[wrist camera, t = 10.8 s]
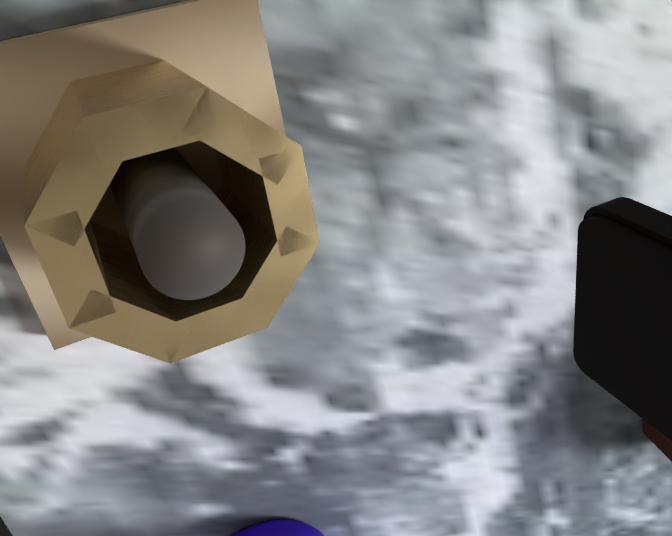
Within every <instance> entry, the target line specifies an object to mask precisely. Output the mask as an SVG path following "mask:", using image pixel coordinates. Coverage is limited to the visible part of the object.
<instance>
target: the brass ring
mask: <svg viewBox="0 0 672 536" xmlns="http://www.w3.org/2000/svg"><path fill="white" fill-rule="evenodd" d="M199 140H200V141H202V142H204V143H206V144H207V145H209V146H211V147H213V148H214V150H215V154H216V158H217V162H218V166H219V170H220V173H221V177H222V181H223V183H222V185H221V186H220V188H219V190H218V192H217V193H216V196H217V198H218V199H219V200H220V201H221V202H222V204H223V205H224V206H225V207H226V208H227V209H228V211H229V212H230V213H231V214H232V215H233V217H234V218H235V219H236V220H237V222H238V223H239V225H240V227H241V229H242V231H243V234H244V239H245V255H244V260H243V263H242V266H241V268H240V270H239V272H238V273H237V275H236V276H235V278H234V279H233V280H232V281H231V282H230V283H229V284H228V285H227V286H226V287H224V288H223V289H222V290H220V291H219V292H217V293H215V294H213V295H211V296H208V297H205V298H201V299H196V300H181V299H175V298H172V297H169V296H167V295H165V294H163V293H161V292H159V291H158V290H157V289H155V288H154V287H153V286H152V285H151V284H150V283H149V282H148V280H147V279H146V277H145V275H144V273H143V271H142V269H141V266H140V263H139V261H138V258H137V255H136V253H135V250H134V247H133V245H132V242H131V239H130V238H129V237H126V236H124V235H122V234H120V233H117V232H115V231H113V230H111V229H108V228H106V227H104V226H102V225H99V224H97V223H95V222H93V221H92V220H91V216H92V215H93V213H94V211H95V209H96V207H97V206H98V204H99V202H100V200H101V198H102V197H103V195H104V193H105V191H106V190H107V188H108V186H109V184H110V182H111V181H112V179H113V177H114V175H115V174H116V172H117V170H118V168H119V166H120V165H121V163H122V161H125V160H129V159H133V158H136V157H140V156H144V155H147V154H151V153H155V152H159V151H162V150H166V149H170V148H173V147H177V146H181V145H184V144H188V143H192V142H195V141H199ZM24 226H25V229H26V231H27V233H28V236H29V238H30V240H31V243H32V245H33V247H34V250H35V252H36V254H37V256H38V259H39V261H40V263H41V266H42V268H43V270H44V273H45V275H46V277H47V279H48V282H49V284H50V286H51V289H52V291H53V293H54V296H55V298H56V300H57V302H58V305H59V307H60V309H61V312H62V314H63V316H64V319H65V321H66V323H67V325H68V328H69V329H72V330H75V331H78V332H81V333H83V334H86V335H89V336H92V337H95V338H98V339H101V340H104V341H107V342H110V343H113V344H115V345H118V346H121V347H124V348H127V349H130V350H133V351H136V352H139V353H142V354H145V355H148V356H150V357H153V358H156V359H159V360H162V361H165V362H168V363H173V362H176V361H178V360H181V359H184V358H186V357H189V356H192V355H194V354H197V353H200V352H202V351H205V350H208V349H211V348H213V347H216V346H219V345H221V344H224V343H227V342H229V341H232V340H235V339H237V338H240V337H243V336H246V335H248V334H251V333H254V332H256V331H259V330H262V329H264V328H267V327H268V326H269V324H270V323H271V321H272V320H273V318H274V316H275V315H276V313H277V312H278V310H279V308H280V307H281V305H282V304H283V302H284V300H285V299H286V297H287V295H288V294H289V292H290V291H291V289H292V287H293V286H294V284H295V283H296V281H297V279H298V278H299V276H300V275H301V273H302V271H303V270H304V268H305V267H306V265H307V263H308V262H309V260H310V258H311V257H312V255H313V254H314V252H315V250H316V249H317V247H318V246H319V244H320V241H319V236H318V231H317V226H316V220H315V215H314V210H313V205H312V199H311V194H310V189H309V184H308V178H307V173H306V168H305V163H304V157H303V152H302V147H301V146H300V145H299V144H297V143H296V142H294V141H293V140H291V139H289V138H288V137H286V136H285V135H283V134H281V133H280V132H278V131H277V130H275V129H274V128H272V127H270V126H269V125H267V124H266V123H264V122H262V121H261V120H259V119H258V118H256V117H255V116H253V115H251V114H250V113H248V112H247V111H245V110H243V109H242V108H240V107H239V106H237V105H236V104H234V103H232V102H231V101H229V100H228V99H226V98H224V97H223V96H221V95H220V94H218V93H216V92H215V91H213V90H212V89H210V88H209V87H207V86H205V85H204V84H202V83H201V82H199V81H197V80H196V79H194V78H192V77H191V76H189V75H188V74H186V73H184V72H183V71H181V70H179V69H178V68H176V67H175V66H173V65H171V64H170V63H168V62H166V61H165V60H160V61H156V62H152V63H147V64H143V65H139V66H134V67H130V68H125V69H121V70H117V71H112V72H108V73H104V74H99V75H95V76H91V77H86V78H82V79H77V80H73V81H70V83H69V85H68V86H67V88H66V90H65V92H64V94H63V96H62V98H61V99H60V101H59V103H58V105H57V107H56V109H55V111H54V112H53V114H52V116H51V118H50V120H49V122H48V124H47V125H46V127H45V129H44V131H43V133H42V135H41V137H40V138H39V140H38V142H37V144H36V146H35V148H34V150H33V151H32V153H31V155H30V157H29V159H28V161H27V163H26V187H25V216H24Z"/></svg>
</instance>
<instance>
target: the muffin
mask: <svg viewBox="0 0 672 536" xmlns="http://www.w3.org/2000/svg"><path fill="white" fill-rule="evenodd" d="M642 421H643V433H644V434H645V435H646V436H647V437H648V438H649V439H650V440H651V441H652V442H653V443H654V444H655V445H656V446H657V447H658V448H659V449H660V450H661V451H662V452H663V453H664V454H665V455H666V456H667V457H668V458H669V459H670V460H671V461H672V441H671V440H670V439H669V438H667V437H666V436H665V435H663V434H662V433H661V432H660V431H658V430H657V429H656V428H654V427H653V426H652V425H650V424H649V423H648V422H647V421H645V420H644V419H643V418H642Z"/></svg>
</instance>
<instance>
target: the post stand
mask: <svg viewBox="0 0 672 536" xmlns="http://www.w3.org/2000/svg"><path fill="white" fill-rule="evenodd" d="M160 60H165V61H166V62H168V63H170V64H171V65H173V66H175V67H176V68H178V69H179V70H181V71H183V72H184V73H186V74H188V75H189V76H191V77H192V78H194V79H196V80H197V81H199V82H201V83H202V84H204V85H205V86H207V87H209V88H210V89H212V90H213V91H215V92H216V93H218V94H220V95H221V96H223V97H224V98H226V99H228V100H229V101H231V102H232V103H234V104H236V105H237V106H239V107H240V108H242V109H243V110H245V111H247V112H248V113H250V114H251V115H253V116H255V117H256V118H258V119H259V120H261V121H262V122H264V123H266V124H267V125H269V126H270V127H272V128H274V129H275V130H277V131H278V132H280V133H281V134H283V135H285V136H286V133H285V129H284V124H283V119H282V114H281V110H280V105H279V100H278V96H277V91H276V86H275V81H274V77H273V72H272V67H271V63H270V58H269V53H268V48H267V44H266V39H265V34H264V30H263V25H262V20H261V15H260V11H259V6H258V1H257V0H188V1H184V2H179V3H175V4H170V5H165V6H161V7H156V8H152V9H147V10H142V11H138V12H133V13H128V14H124V15H119V16H115V17H110V18H105V19H101V20H96V21H92V22H87V23H82V24H78V25H73V26H69V27H64V28H59V29H55V30H50V31H46V32H41V33H36V34H32V35H27V36H22V37H18V38H13V39H9V40H4V41H0V236H1V239H2V241H3V243H4V245H5V247H6V249H7V251H8V253H9V255H10V258H11V260H12V262H13V264H14V266H15V268H16V270H17V272H18V274H19V277H20V279H21V281H22V283H23V285H24V287H25V289H26V291H27V293H28V296H29V298H30V300H31V302H32V304H33V306H34V308H35V310H36V312H37V315H38V317H39V319H40V321H41V323H42V325H43V327H44V329H45V331H46V334H47V336H48V338H49V340H50V342H51V344H52V346H53V348H54V350H56V349H58V348H61V347H64V346H67V345H70V344H72V343H75V342H78V341H81V340H84V339H86V338H89V337H92V336H89V335H86V334H83V333H81V332H78V331H75V330H72V329H69V328H68V325H67V323H66V321H65V319H64V316H63V314H62V312H61V309H60V307H59V305H58V302H57V300H56V298H55V296H54V293H53V291H52V289H51V286H50V284H49V282H48V279H47V277H46V275H45V273H44V270H43V268H42V266H41V263H40V261H39V259H38V256H37V254H36V252H35V250H34V247H33V245H32V243H31V240H30V238H29V236H28V233H27V231H26V229H25V226H24V216H25V187H26V163H27V161H28V159H29V157H30V155H31V153H32V151H33V150H34V148H35V146H36V144H37V142H38V140H39V138H40V137H41V135H42V133H43V131H44V129H45V127H46V125H47V124H48V122H49V120H50V118H51V116H52V114H53V112H54V111H55V109H56V107H57V105H58V103H59V101H60V99H61V98H62V96H63V94H64V92H65V90H66V88H67V86H68V85H69V83H70V81H73V80H77V79H82V78H86V77H91V76H95V75H99V74H104V73H108V72H112V71H117V70H121V69H125V68H130V67H134V66H139V65H143V64H147V63H152V62H156V61H160ZM222 183H223V181H222V177H221V173H220V170H219V166H218V162H217V158H216V154H215V150H214V148H213V147H211V146H209V145H207V144H206V143H204V142H202V141H200V140H199V141H195V142H192V143H188V144H184V145H181V146H177V147H173V148H170V149H166V150H162V151H159V152H155V153H151V154H147V155H144V156H140V157H136V158H133V159H129V160H125V161H122V163H121V165H120V166H119V168H118V170H117V172H116V174H115V175H114V177H113V179H112V181H111V182H110V184H109V186H108V188H107V190H106V191H105V193H104V195H103V197H102V198H101V200H100V202H99V204H98V206H97V207H96V209H95V211H94V213H93V215H92V216H91V220H92V221H93V222H95V223H97V224H99V225H102V226H104V227H106V228H108V229H111V230H113V231H115V232H117V233H120V234H122V235H124V236H126V237H129V238H130V239H131V242H132V245H133V247H134V250H135V253H136V255H137V258H138V261H139V263H140V266H141V269H142V271H143V273H144V275H145V277H146V279H147V280H148V282H149V283H150V284H151V285H152V286H153V287H154V288H155V289H157V290H158V291H159V292H161V293H163V294H165V295H167V296H169V297H172V298H175V299H181V300H196V299H201V298H205V297H208V296H211V295H213V294H215V293H217V292H219V291H220V290H222V289H223V288H224V287H226V286H227V285H228V284H229V283H230V282H231V281H232V280H233V279H234V278H235V276H236V275H237V273H238V272H239V270H240V268H241V266H242V263H243V260H244V255H245V239H244V234H243V231H242V229H241V227H240V225H239V223H238V222H237V220H236V219H235V218H234V217H233V215H232V214H231V213H230V212H229V211H228V209H227V208H226V207H225V206H224V205H223V204H222V202H221V201H220V200H219V199H218V198H217V196H216V193H217V192H218V190H219V188H220V186H221V185H222ZM311 258H312V257H311ZM311 258H310V259H311Z"/></svg>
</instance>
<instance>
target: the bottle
mask: <svg viewBox="0 0 672 536" xmlns="http://www.w3.org/2000/svg"><path fill="white" fill-rule="evenodd" d="M231 536H324V535H323V534H322V533H321V532H320V531H318V530H317V529H315V528H314V527H312V526H310V525H307V524H305V523H302V522H299V521H294V520H284V519H283V520H271V521H265V522H262V523H258V524H255V525H252V526H249V527H247V528H245V529H243V530H241V531H238V532H237V533H235V534H233V535H231Z"/></svg>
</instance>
